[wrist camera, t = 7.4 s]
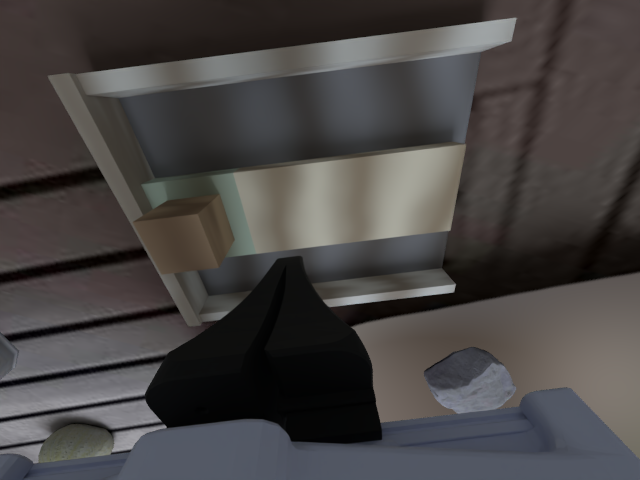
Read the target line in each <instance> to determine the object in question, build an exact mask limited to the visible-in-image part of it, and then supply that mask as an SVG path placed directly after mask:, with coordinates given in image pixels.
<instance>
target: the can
mask: <svg viewBox="0 0 640 480" xmlns="http://www.w3.org/2000/svg"><path fill="white" fill-rule="evenodd" d="M18 353H19V351H18V350H17V349H16V348H15V347H14V346H13V345H12V344H11V343H10V342H9V341H8V340H7V339H6V338H5V337H4V336H3V335H2V334H1V333H0V380H1V379H2V378H3V377H4V376H5V375H6V374H7V373H9V372H10V371H11V370H12V369H13V368H14V367H16V363H17V358H18Z"/></svg>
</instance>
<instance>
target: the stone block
mask: <svg viewBox="0 0 640 480" xmlns="http://www.w3.org/2000/svg"><path fill="white" fill-rule="evenodd" d="M424 377H425V379H426V381H427V382H428V386H429V388H430V391H431V392H432V393H433V395H434V397H435V398H436V399H437V400H438V401H439V402H440V403H441V405H443V406H445V407H447V408H448V409H450V408H452V409H453V410H454V411H455V412H457V414H460V413H469V412H477V411H486V410H494V409H496V408H498V407H501V406H502V405H503V404H504V403H505V402H506V401H507V399H510V398H511V397H512V395H513V394H514V393H515V390H516V387H515V385H514V384H513V383H512V379H511V377H510V374H509V373H508V371H507V370H506V368H505V366H504V365H503V364H502V363H501V362H499V361H498V360H497V359H496V358H495V357H494V356H493V355H492V354H490V353H489V352H487V351H485V350H481V349H479V348H476V347H469V348H467V349H463V350H460V351H455V352H452V353H451V354H450V355H448V356H447V357H445V358H444V359H442V360H441V361H439V362H437V363H435V364H434V365H432V366H431V367H429V368H427V369H426V370H425V371H424Z"/></svg>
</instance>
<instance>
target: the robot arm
mask: <svg viewBox="0 0 640 480" xmlns="http://www.w3.org/2000/svg"><path fill="white" fill-rule="evenodd" d="M372 373H373V369H372V363H371V360H370V358H369V355H368V353H367V351H366V349H365V347H364V345H363V343H362V341H361V340H360V338H359V336H358V335H357V333H356V331H355V330H354V329H352V328H351V327H350V326H348V325H347V324H346V323H345V322H344V321H342V320H341V319H340V318H339V317H338V316H337V315H336V314H335V313H334V312H333V311H332V310H331V309H330V308H329V307H328V306H327V305H326V304H325V302H324V301H323V300H322V299H321V297H320V296H319V295H318V293H317V292H316V290H315V289H314V287H313V285H312V284H311V282H310V280H309V278H308V276H307V274H306V272H305V268H304V262H303V257H301V256H293V257H285V258H278V259H277V260H276V261H275V262H274V264H273V265H272V266H271V268H270V269H269V271H268V272H267V273H266V275H265V276H264V277H263V278H262V280H261V281H260V282H259V283H258V285H257V286H256V287H255V288H254V289H253V290H252V292H251V293H250V294H249V295H248V296H247V297H246V298H245V299H244V300H243V301H242V302H241V303H240V304H238V305H237V306H236V307H235V308H234V309H233V310H232V311H230V312H229V313H228V314H227V315H225V316H224V317H223V318H222V319H221V320H219V321H218V322H217V323H215V324H214V325H212V326H211V327H210V328H208V329H207V330H205V331H204V332H202V333H201V334H199V335H198V336H196V337H195V338H193V339H191V340H190V341H188V342H186V343H184V344H183V345H181V346H179V347H178V348H176V349H174V350H172V351H171V352H169V353H168V355H167V356H166V358H165V359H164V361H163V363H162V364H161V366H160V368H159V370H158V371H157V373H156V375H155V376H154V378H153V380H152V382H151V383H150V385H149V387H148V389H147V391H146V393H145V398H146V402H147V404H148V406H149V407H150V409H151V410H152V411H153V412H154V413H155V414H156V415H157V417H158V418H159V419H160V420H161V421H162V422H163V423H164V424H165V425H166V426H167V428H165V429H160V430H156V431H153V432H149V433H147V434H145V435H143V436H141V438H140V439H139V440H138V441H137V442H136V443H135V445H134V447H133V448H132V450H131V452H130V453H121V454H113V455H104V456H96V457H87V458H79V459H71V460H62V461H54V462H45V463H37V464H33V461H31V460H30V459H28V458H27V457H25V456H22V455H19V454H1V455H0V480H640V459H639V458H638V457H637V456H636V455H635V454H634V453H633V452H632V451H631V450H630V449H629V448H628V447H627V446H626V445H625V444H624V443H623V442H622V441H621V440H620V439H619V438H618V437H617V436H616V435H615V434H614V432H612V430H611V429H609V427H608V426H607V425H606V424H605V423H604V422H603V421H602V420H601V419H600V418H599V417H598V416H597V415H596V414H595V413H594V412H593V411H592V410H591V409H590V408H589V407H588V406H587V405H586V403H584V401H582V399H581V398H580V397H579V396H578V395H577V394H576V393H575V392H574V391H573V390H572V389H571V388H567V387H566V388H557V389H549V390H540V391H534V392H530V393H528V394H526V395H525V396H524V397H523V398H522V400H521V403H520V406H519V407H511V408H503V409H494V410H486V411H477V412H469V413H460V414H452V415H443V416H435V417H427V418H419V419H410V420H401V421H393V422H384V423H380V419H379V415H378V411H377V407H376V398H375V394H374V390H373V374H372Z"/></svg>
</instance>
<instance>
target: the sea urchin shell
mask: <svg viewBox="0 0 640 480" xmlns="http://www.w3.org/2000/svg"><path fill="white" fill-rule="evenodd" d="M113 446H114V440H113V437H112V435H111V434H110V433H109V432H108V430H106V429H104V428H99V427H94V426H90V425H87V424H85V425H84V424H71V425H68V426H65V427H62V428H61V429H58V430H57V431H55V432H54V433H53V434H51V435H50V436H49V437H48V438H47V440H46V441H45V442H44V444H43V445H42V447H41V450H40V453H39V456H38V457H39V460H38V461H39V463H45V462H54V461H62V460H71V459H79V458H87V457H96V456H104V455H110V454H111V452H112V449H113Z"/></svg>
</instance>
